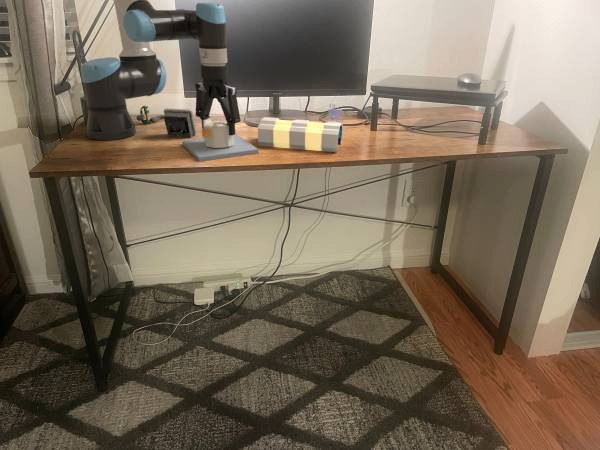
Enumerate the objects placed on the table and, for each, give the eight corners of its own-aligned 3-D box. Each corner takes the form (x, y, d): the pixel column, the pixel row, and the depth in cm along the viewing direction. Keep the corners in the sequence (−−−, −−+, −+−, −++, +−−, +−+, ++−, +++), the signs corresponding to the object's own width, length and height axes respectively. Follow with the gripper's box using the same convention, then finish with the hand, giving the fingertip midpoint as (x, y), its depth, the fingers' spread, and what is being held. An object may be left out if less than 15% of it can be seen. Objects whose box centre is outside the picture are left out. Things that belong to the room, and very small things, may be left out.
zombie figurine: (175, 102, 164) (138, 108, 154) (177, 120, 167) (141, 128, 157) (167, 99, 167) (130, 106, 157) (169, 117, 170) (133, 125, 160)
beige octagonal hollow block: (195, 146, 132) (193, 126, 129) (217, 138, 140) (216, 119, 137) (215, 151, 128) (214, 130, 126) (237, 143, 136) (236, 123, 133)
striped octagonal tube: (341, 144, 143) (344, 103, 137) (337, 154, 134) (339, 110, 128) (267, 138, 148) (266, 98, 142) (258, 147, 139) (257, 105, 133)
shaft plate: (182, 144, 139) (180, 121, 136) (236, 137, 147) (235, 115, 143) (199, 161, 125) (197, 136, 122) (258, 153, 133) (257, 129, 129)
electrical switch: (197, 135, 149) (193, 107, 144) (192, 140, 145) (188, 113, 140) (170, 133, 150) (165, 106, 145) (164, 139, 145) (159, 111, 140)
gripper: (177, 62, 127) (185, 140, 137) (234, 68, 117) (238, 152, 127) (196, 59, 132) (202, 134, 143) (251, 66, 123) (254, 145, 133)
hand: (219, 142), depth 135 cm, fingers closed on beige octagonal hollow block, 8 cm apart
